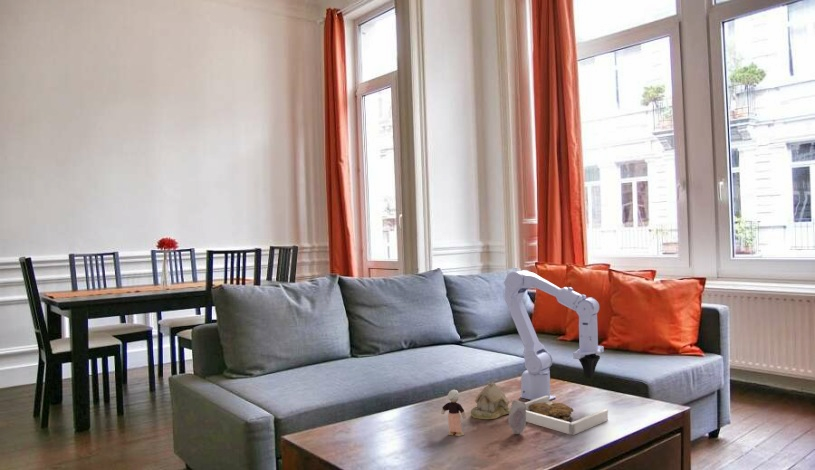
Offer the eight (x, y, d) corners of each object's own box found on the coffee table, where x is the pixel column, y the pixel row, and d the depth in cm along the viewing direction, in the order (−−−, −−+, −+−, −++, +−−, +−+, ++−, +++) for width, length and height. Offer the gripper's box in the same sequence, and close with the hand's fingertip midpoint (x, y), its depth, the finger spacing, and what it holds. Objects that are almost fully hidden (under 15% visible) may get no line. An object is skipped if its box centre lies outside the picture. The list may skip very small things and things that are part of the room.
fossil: (512, 438, 167) (511, 402, 167) (504, 434, 170) (503, 399, 170) (528, 434, 170) (527, 399, 169) (521, 431, 173) (520, 396, 172)
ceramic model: (484, 405, 199) (483, 375, 199) (516, 410, 193) (515, 379, 192) (464, 417, 187) (464, 385, 187) (497, 422, 181) (497, 389, 181)
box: (510, 417, 185) (510, 407, 185) (546, 404, 197) (546, 395, 197) (572, 435, 168) (572, 424, 168) (607, 420, 180) (607, 410, 180)
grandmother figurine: (468, 432, 172) (467, 389, 172) (465, 437, 169) (464, 392, 169) (443, 430, 175) (442, 387, 175) (439, 434, 171) (438, 390, 171)
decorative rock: (585, 422, 181) (552, 410, 194) (585, 408, 181) (552, 398, 194) (555, 426, 176) (523, 414, 189) (555, 412, 176) (523, 401, 189)
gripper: (586, 340, 186) (587, 384, 186) (611, 334, 195) (612, 375, 195) (567, 337, 191) (568, 380, 191) (592, 331, 200) (593, 372, 201)
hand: (589, 377), depth 194 cm, fingers closed
